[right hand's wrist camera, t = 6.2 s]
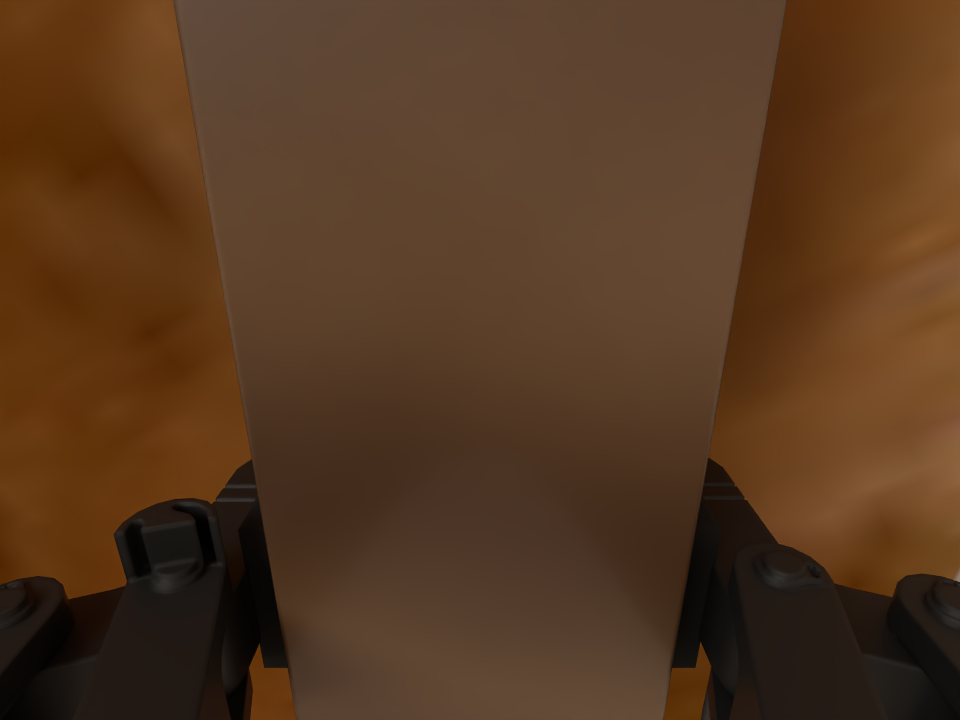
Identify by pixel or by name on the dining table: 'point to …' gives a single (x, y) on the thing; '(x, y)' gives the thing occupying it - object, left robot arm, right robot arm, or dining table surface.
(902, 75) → the dining table surface
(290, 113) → the beam
